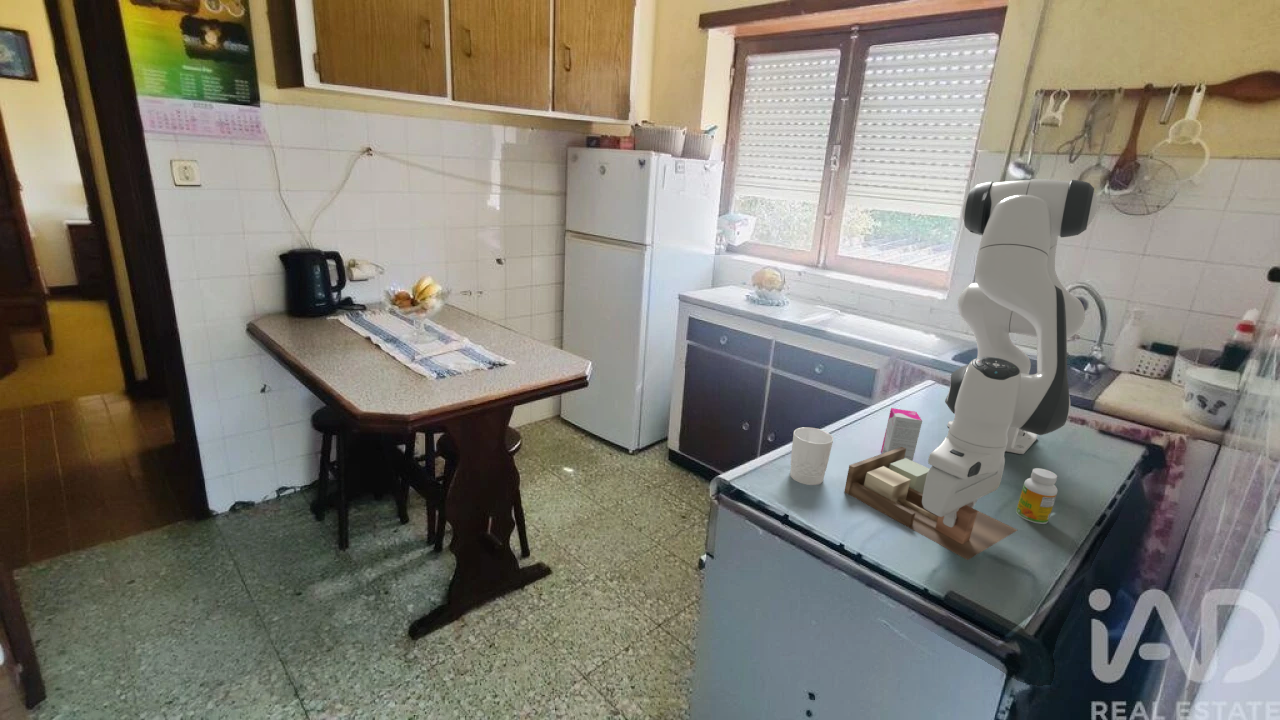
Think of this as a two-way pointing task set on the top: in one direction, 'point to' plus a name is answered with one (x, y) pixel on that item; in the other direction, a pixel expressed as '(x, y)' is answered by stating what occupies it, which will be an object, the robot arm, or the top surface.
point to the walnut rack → (984, 526)
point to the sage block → (911, 473)
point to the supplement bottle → (1038, 496)
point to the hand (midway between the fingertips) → (955, 521)
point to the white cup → (810, 455)
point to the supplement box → (902, 432)
